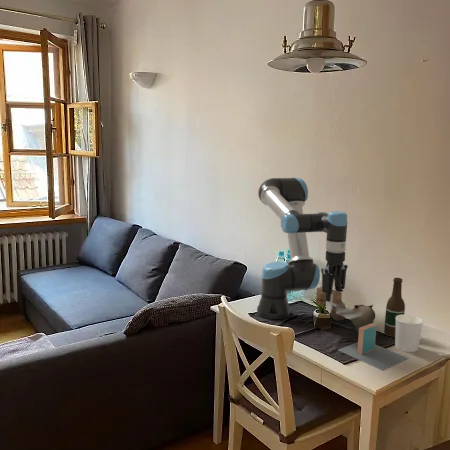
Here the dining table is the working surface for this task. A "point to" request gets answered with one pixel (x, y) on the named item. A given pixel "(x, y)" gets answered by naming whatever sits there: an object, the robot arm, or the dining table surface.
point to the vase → (336, 316)
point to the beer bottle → (394, 308)
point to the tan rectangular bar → (366, 338)
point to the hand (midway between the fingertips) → (332, 307)
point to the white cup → (408, 332)
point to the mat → (375, 356)
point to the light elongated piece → (339, 306)
